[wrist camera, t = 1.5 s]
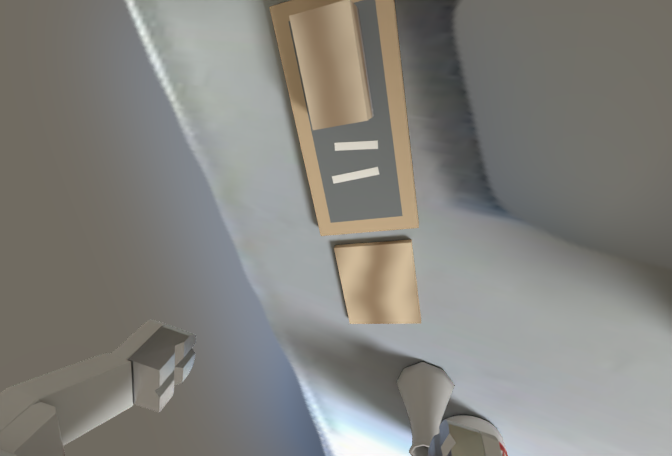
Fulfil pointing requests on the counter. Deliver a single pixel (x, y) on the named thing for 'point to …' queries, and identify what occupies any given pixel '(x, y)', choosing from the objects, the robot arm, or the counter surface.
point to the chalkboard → (356, 132)
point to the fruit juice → (480, 428)
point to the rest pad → (379, 282)
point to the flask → (424, 402)
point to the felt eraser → (333, 64)
